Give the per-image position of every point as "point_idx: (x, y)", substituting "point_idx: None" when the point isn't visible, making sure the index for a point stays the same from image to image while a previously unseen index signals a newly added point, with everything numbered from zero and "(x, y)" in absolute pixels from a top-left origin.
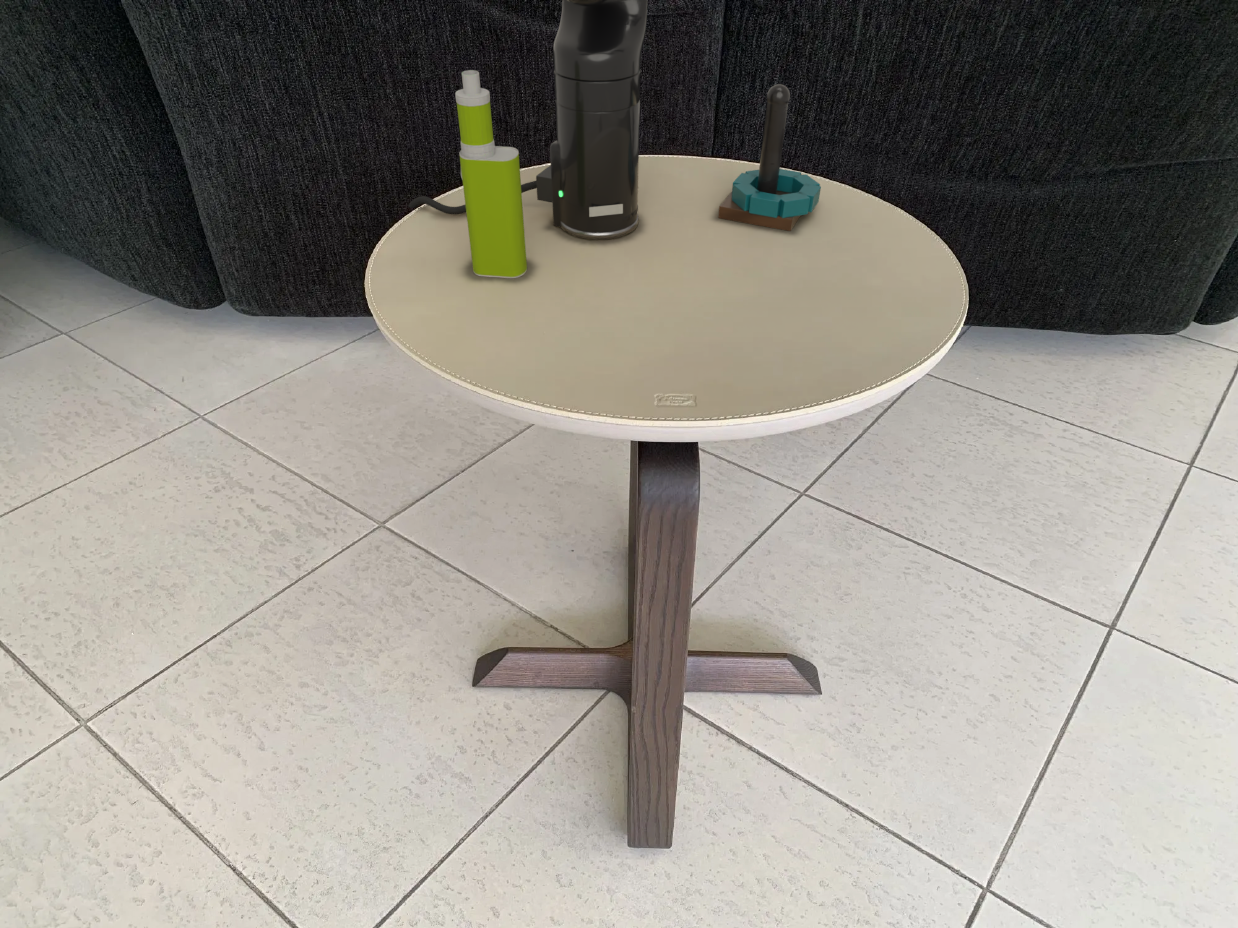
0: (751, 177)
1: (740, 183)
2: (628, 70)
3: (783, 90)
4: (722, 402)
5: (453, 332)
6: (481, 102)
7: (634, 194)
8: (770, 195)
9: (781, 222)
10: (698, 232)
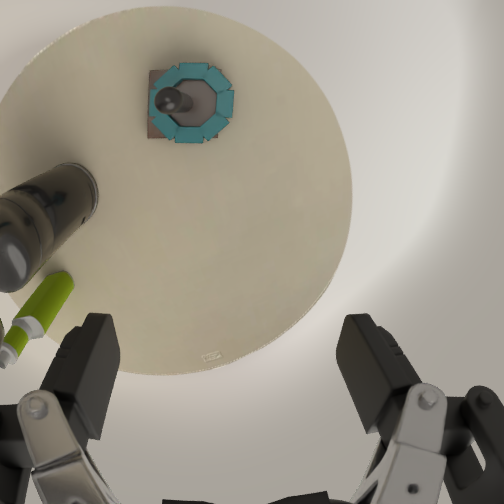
0: None
1: (156, 115)
2: (37, 260)
3: (173, 107)
4: (233, 351)
5: None
6: (17, 358)
7: (86, 203)
8: (191, 132)
9: None
10: (143, 171)
